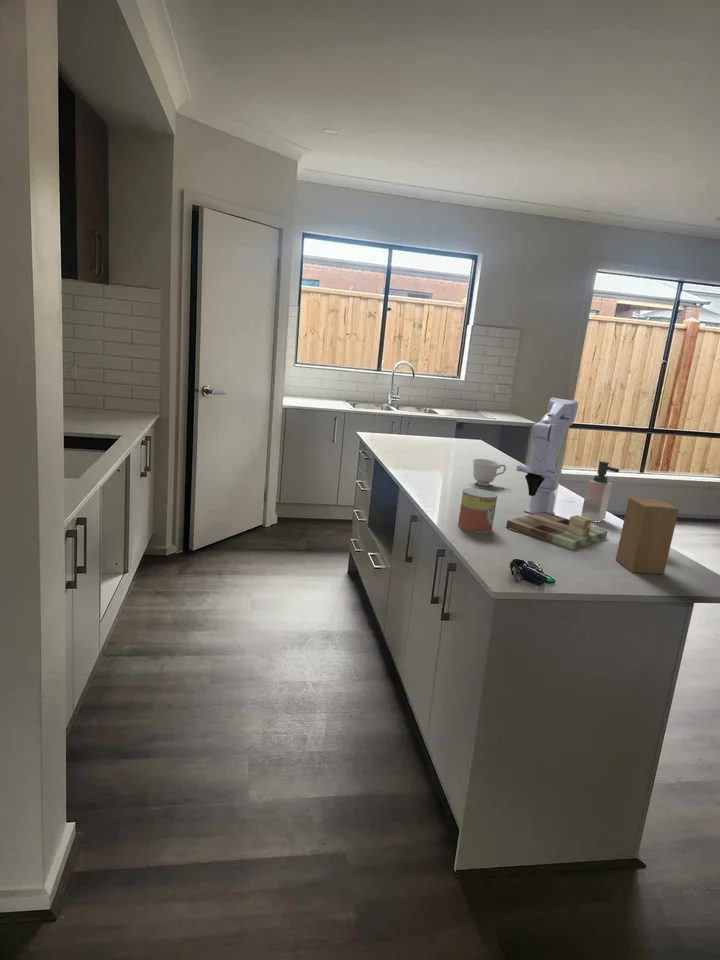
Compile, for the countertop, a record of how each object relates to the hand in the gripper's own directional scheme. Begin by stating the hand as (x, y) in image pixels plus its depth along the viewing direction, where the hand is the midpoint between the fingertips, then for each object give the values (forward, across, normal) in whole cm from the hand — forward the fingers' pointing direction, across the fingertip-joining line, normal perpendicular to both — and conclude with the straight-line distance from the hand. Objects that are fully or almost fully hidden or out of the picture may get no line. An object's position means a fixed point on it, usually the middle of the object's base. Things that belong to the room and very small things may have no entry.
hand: (531, 495), depth 218 cm
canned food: (+10, -4, -26) cm, 28 cm away
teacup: (+10, -41, +33) cm, 53 cm away
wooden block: (+10, +44, -10) cm, 46 cm away
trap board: (+9, +13, -3) cm, 16 cm away
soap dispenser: (+10, +12, +28) cm, 32 cm away
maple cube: (+7, +21, -3) cm, 22 cm away
